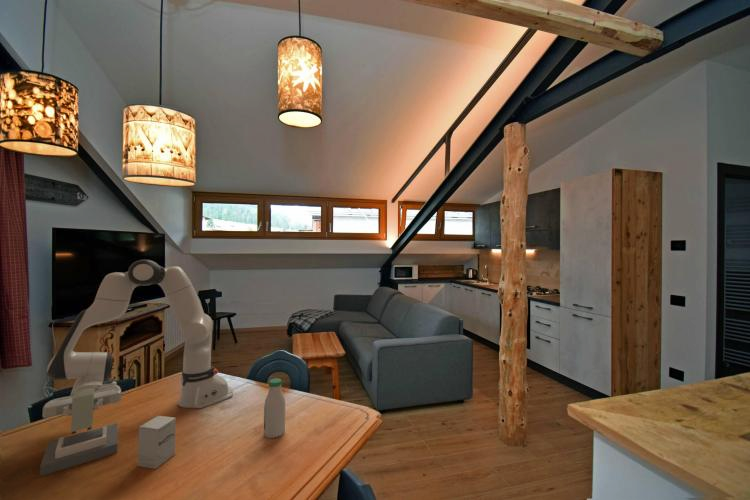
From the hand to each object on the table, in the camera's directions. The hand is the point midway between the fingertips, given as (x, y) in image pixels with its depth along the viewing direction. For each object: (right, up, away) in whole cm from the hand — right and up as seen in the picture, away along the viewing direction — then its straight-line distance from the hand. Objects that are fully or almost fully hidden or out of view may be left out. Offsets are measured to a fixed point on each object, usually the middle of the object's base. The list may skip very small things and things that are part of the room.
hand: (82, 410), depth 104 cm
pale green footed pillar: (-1, -6, +1) cm, 7 cm away
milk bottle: (+61, -16, +13) cm, 64 cm away
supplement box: (+27, -15, -3) cm, 31 cm away
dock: (-1, -14, +1) cm, 15 cm away
